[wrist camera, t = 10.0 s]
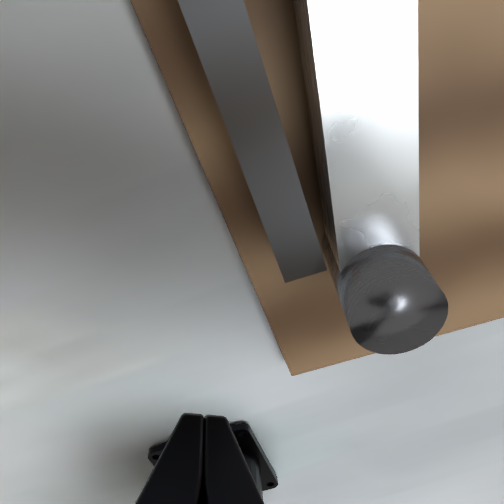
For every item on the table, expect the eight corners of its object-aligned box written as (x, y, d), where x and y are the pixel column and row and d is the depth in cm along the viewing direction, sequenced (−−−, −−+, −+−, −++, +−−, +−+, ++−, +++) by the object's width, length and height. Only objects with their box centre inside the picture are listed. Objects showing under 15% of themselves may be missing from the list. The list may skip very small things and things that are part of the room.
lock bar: (399, 264, 20) (447, 344, 15) (326, 278, 20) (353, 361, 16) (384, -136, 13) (466, -189, 8) (271, -107, 13) (294, -145, 9)
